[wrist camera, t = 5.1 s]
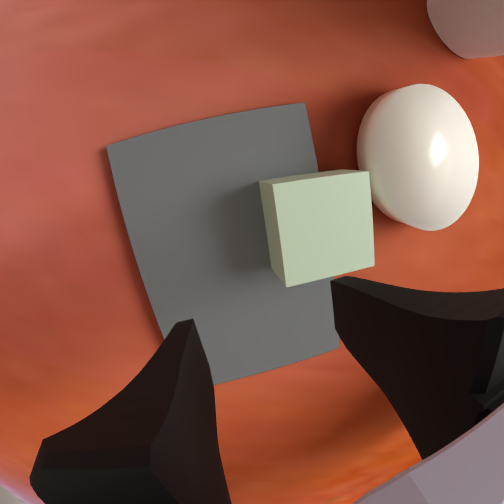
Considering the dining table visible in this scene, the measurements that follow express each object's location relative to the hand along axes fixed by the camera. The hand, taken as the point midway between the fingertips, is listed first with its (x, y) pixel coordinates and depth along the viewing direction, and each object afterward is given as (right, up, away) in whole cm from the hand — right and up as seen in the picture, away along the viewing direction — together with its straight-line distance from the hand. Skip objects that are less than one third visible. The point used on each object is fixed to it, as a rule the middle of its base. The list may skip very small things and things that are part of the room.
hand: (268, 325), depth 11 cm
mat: (-1, +2, +8) cm, 8 cm away
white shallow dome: (+10, +9, +8) cm, 15 cm away
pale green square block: (+3, +4, +7) cm, 9 cm away
